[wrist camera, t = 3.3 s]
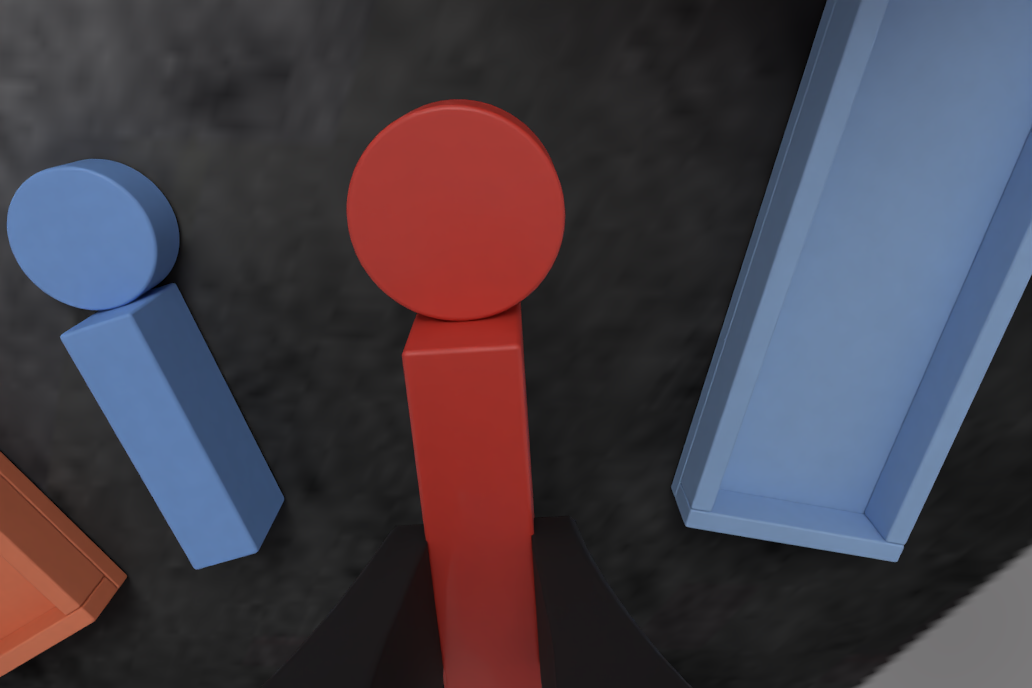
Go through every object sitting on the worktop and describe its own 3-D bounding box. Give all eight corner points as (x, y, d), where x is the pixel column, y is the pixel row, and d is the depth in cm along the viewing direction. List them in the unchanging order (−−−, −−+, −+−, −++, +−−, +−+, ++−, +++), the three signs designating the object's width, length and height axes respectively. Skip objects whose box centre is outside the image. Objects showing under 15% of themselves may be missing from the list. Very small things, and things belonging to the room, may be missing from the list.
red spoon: (577, 597, 14) (587, 690, 12) (417, 605, 14) (401, 700, 12) (555, 92, 11) (566, 100, 9) (348, 105, 11) (310, 118, 9)
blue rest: (865, 521, 19) (897, 563, 18) (670, 487, 19) (684, 527, 17) (1121, -62, 14) (1197, -76, 13) (865, -124, 14) (911, -147, 12)
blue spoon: (312, 491, 19) (287, 545, 17) (203, 522, 19) (166, 579, 17) (139, 139, 16) (83, 153, 14) (13, 183, 16) (-61, 202, 14)
